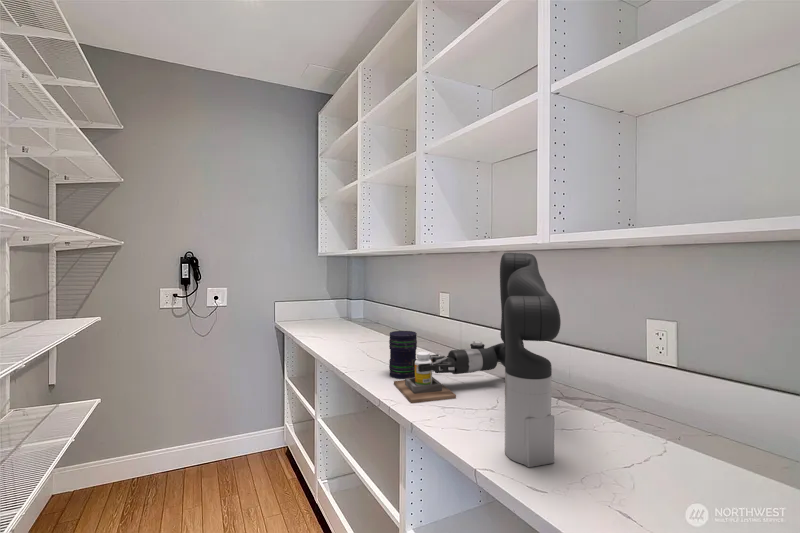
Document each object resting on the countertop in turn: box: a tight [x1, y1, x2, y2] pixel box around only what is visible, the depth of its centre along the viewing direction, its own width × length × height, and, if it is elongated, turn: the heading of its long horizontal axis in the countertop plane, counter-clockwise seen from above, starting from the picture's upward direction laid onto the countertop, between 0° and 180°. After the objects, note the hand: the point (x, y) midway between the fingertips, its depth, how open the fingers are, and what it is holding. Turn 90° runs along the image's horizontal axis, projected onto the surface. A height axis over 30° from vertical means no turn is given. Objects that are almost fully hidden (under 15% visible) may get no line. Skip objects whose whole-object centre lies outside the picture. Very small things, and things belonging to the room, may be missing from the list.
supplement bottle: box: [414, 351, 433, 386], centre depth 121 cm, size 5×5×10 cm
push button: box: [470, 340, 486, 349], centre depth 147 cm, size 7×5×10 cm
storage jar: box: [388, 330, 418, 380], centre depth 138 cm, size 10×10×15 cm
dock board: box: [393, 376, 457, 404], centre depth 121 cm, size 18×14×3 cm
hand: (415, 365), depth 121 cm, fingers closed on supplement bottle, 5 cm apart
